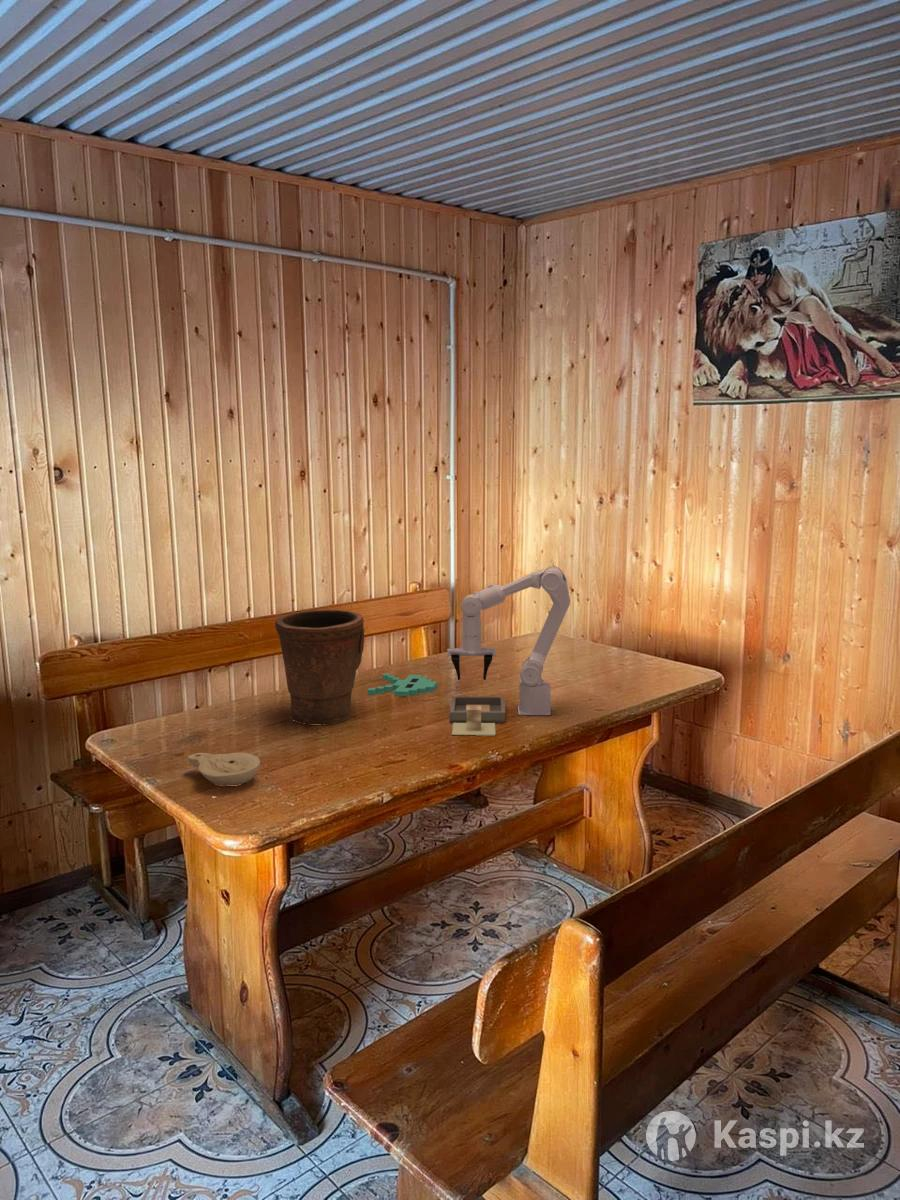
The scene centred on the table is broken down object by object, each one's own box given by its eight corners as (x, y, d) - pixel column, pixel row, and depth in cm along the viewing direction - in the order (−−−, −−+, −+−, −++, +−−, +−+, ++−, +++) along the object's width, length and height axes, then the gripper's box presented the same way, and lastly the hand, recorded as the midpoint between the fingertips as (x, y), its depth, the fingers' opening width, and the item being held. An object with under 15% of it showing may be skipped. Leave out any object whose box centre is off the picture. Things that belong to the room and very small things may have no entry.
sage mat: (495, 724, 255) (494, 723, 255) (495, 735, 245) (495, 734, 245) (453, 724, 255) (453, 722, 255) (451, 735, 246) (451, 734, 246)
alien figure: (367, 696, 285) (428, 699, 281) (367, 689, 285) (428, 692, 281) (384, 679, 304) (441, 682, 300) (384, 673, 304) (441, 676, 300)
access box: (504, 706, 272) (504, 696, 271) (505, 723, 256) (505, 712, 255) (451, 706, 272) (451, 696, 272) (449, 723, 256) (449, 712, 256)
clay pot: (392, 711, 268) (389, 613, 263) (316, 735, 247) (312, 630, 241) (336, 695, 285) (333, 603, 279) (261, 716, 264) (256, 618, 258)
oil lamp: (167, 781, 215) (166, 761, 215) (212, 762, 227) (210, 743, 227) (230, 798, 205) (228, 778, 204) (273, 778, 217) (272, 758, 216)
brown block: (480, 725, 252) (480, 705, 251) (481, 730, 249) (480, 709, 247) (466, 725, 253) (466, 705, 251) (466, 730, 249) (466, 709, 248)
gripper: (447, 638, 261) (447, 682, 264) (496, 638, 261) (496, 682, 263) (447, 632, 268) (447, 676, 271) (495, 632, 268) (495, 676, 270)
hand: (471, 679), depth 268 cm, fingers open, 7 cm apart
